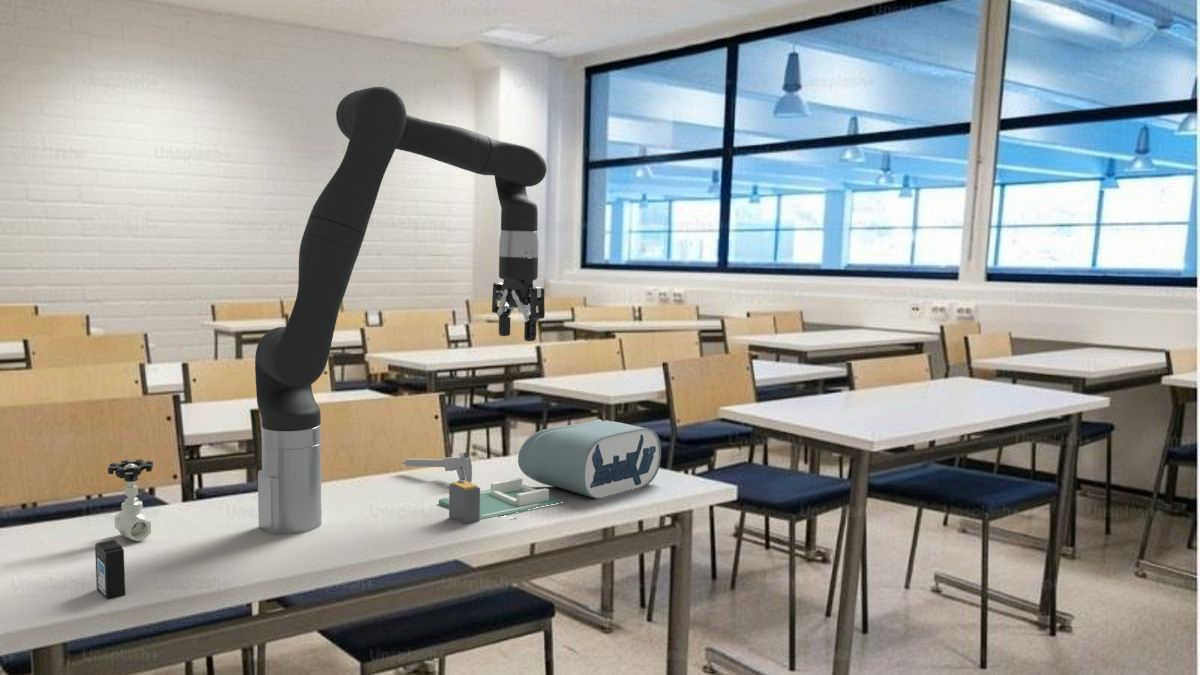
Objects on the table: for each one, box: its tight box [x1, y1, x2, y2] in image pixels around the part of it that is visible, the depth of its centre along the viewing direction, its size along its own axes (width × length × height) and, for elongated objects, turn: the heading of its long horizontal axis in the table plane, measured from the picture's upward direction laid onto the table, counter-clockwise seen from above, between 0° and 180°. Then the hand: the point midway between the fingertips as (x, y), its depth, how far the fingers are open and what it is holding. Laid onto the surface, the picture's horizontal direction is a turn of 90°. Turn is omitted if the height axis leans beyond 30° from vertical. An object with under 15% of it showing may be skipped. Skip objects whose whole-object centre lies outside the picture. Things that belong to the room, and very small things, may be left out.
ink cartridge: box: [94, 539, 126, 600], centre depth 120 cm, size 5×2×8 cm, turn 43°
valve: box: [107, 458, 154, 542], centre depth 145 cm, size 7×7×12 cm
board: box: [438, 477, 565, 521], centre depth 167 cm, size 18×14×3 cm
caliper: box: [401, 451, 473, 483], centre depth 185 cm, size 20×1×6 cm, turn 51°
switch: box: [448, 479, 481, 525], centre depth 155 cm, size 3×5×8 cm, turn 40°
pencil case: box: [517, 418, 662, 500], centre depth 181 cm, size 22×19×13 cm
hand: (517, 338), depth 177 cm, fingers open, 8 cm apart
